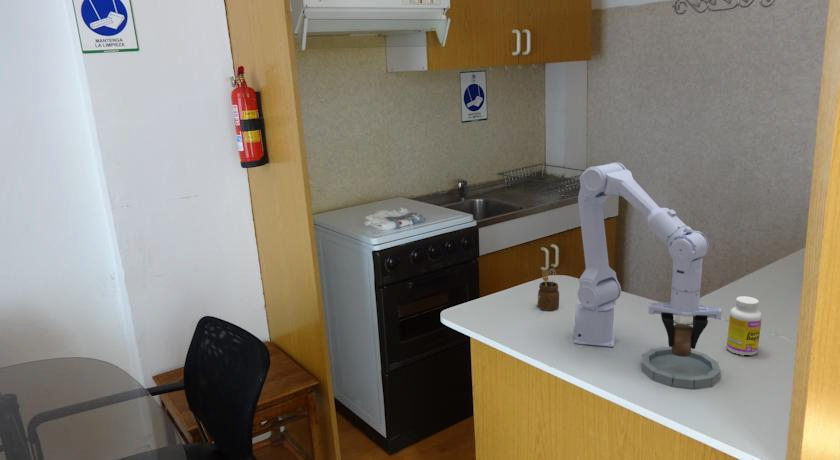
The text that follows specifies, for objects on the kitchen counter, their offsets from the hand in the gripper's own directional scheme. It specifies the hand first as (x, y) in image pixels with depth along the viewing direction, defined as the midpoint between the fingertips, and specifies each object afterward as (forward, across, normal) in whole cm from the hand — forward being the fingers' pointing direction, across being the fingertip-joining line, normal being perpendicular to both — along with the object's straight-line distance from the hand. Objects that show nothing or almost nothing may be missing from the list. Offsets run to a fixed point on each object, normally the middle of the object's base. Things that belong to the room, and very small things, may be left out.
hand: (681, 346), depth 141 cm
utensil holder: (+6, -32, +32) cm, 46 cm away
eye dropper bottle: (+6, +4, +29) cm, 30 cm away
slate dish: (+6, 0, 0) cm, 6 cm away
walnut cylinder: (+2, 0, 0) cm, 2 cm away
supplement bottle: (+6, +15, +14) cm, 21 cm away
